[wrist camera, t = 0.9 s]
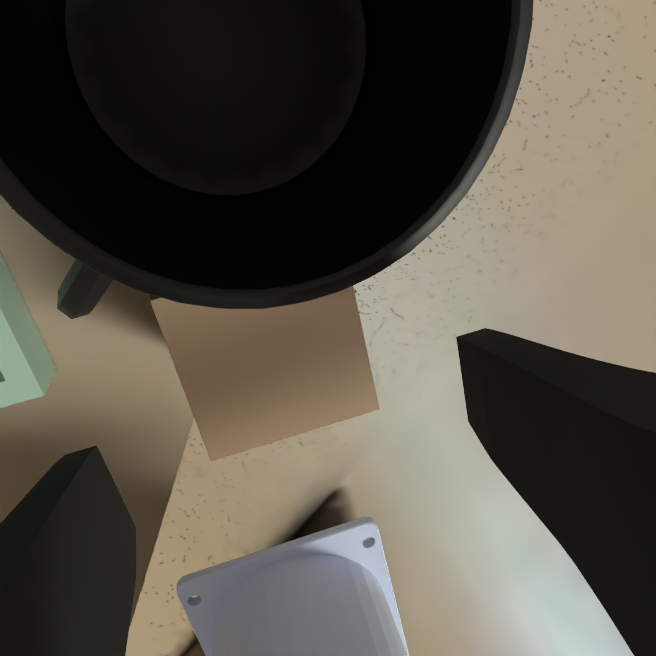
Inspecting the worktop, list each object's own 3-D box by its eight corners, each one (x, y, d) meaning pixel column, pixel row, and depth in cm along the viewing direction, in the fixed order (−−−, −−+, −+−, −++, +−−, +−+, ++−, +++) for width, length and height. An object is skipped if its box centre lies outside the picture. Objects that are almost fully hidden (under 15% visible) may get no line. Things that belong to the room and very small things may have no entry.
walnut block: (332, 324, 21) (379, 409, 16) (206, 361, 21) (210, 461, 15) (302, 199, 19) (344, 246, 14) (162, 236, 19) (149, 300, 13)
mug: (-59, 168, 17) (-302, 253, 9) (159, -255, 14) (112, -704, 6) (227, 326, 20) (249, 493, 12) (441, 10, 18) (649, -47, 10)
